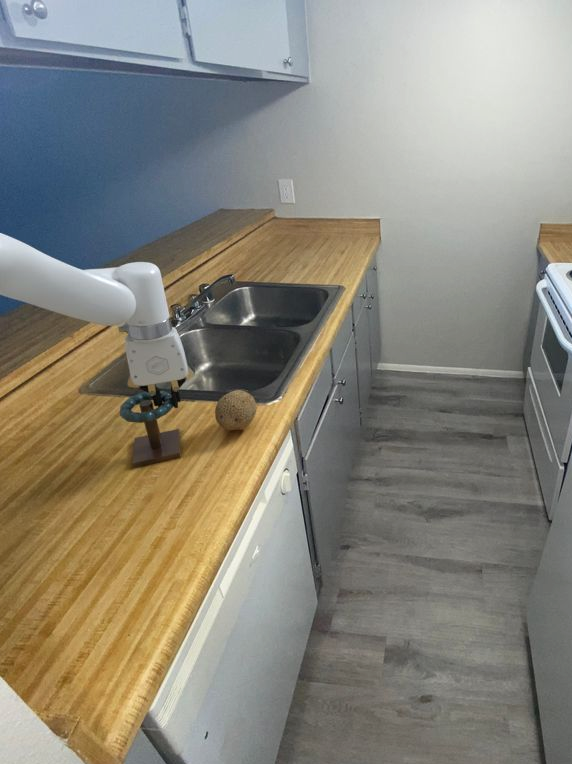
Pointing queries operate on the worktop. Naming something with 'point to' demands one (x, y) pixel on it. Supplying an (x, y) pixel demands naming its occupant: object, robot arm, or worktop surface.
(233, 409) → the natural sponge
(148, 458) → the post
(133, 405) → the ring
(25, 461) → the worktop surface
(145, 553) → the worktop surface
